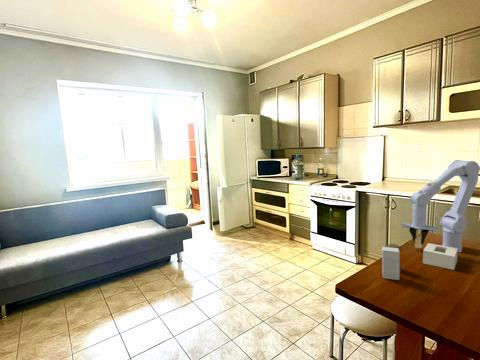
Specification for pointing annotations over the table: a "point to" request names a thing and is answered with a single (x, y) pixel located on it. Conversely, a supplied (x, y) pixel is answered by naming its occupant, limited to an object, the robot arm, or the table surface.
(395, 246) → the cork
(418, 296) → the table surface
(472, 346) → the table surface
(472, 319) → the table surface
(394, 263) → the skincare box
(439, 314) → the table surface
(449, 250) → the slot box
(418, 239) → the wooden brick
